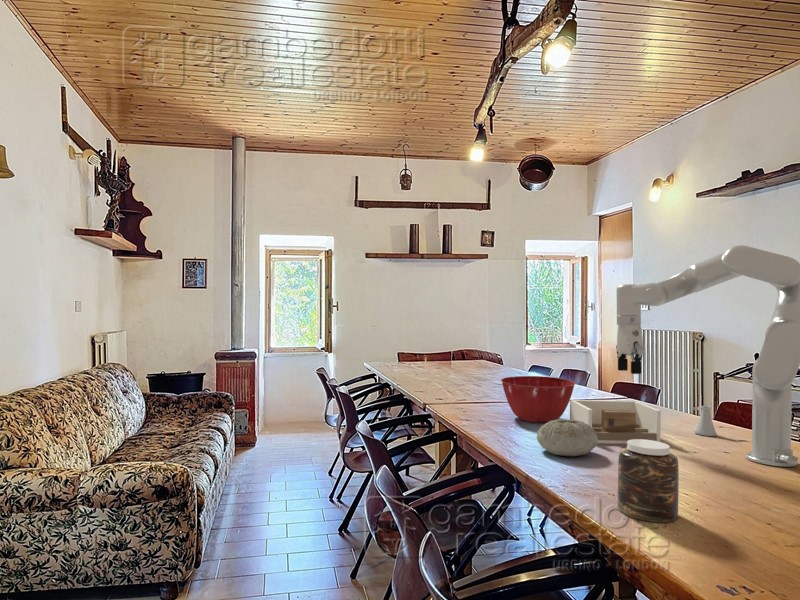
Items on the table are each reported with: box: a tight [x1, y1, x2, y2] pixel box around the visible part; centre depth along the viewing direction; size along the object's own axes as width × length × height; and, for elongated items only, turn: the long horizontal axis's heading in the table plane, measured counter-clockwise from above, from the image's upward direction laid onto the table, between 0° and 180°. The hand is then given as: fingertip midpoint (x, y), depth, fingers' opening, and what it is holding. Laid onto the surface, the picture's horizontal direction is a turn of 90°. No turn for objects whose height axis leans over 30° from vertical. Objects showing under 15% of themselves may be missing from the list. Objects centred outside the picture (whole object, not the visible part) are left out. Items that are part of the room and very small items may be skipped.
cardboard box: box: [601, 410, 636, 432], centre depth 180 cm, size 4×10×9 cm, turn 91°
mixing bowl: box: [500, 375, 576, 424], centre depth 212 cm, size 28×28×16 cm
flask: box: [693, 405, 718, 437], centre depth 192 cm, size 7×7×10 cm
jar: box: [617, 439, 680, 524], centre depth 117 cm, size 12×12×15 cm
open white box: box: [569, 399, 662, 445], centre depth 185 cm, size 18×24×11 cm
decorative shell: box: [536, 418, 599, 457], centre depth 164 cm, size 18×18×10 cm
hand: (629, 372), depth 180 cm, fingers open, 9 cm apart
